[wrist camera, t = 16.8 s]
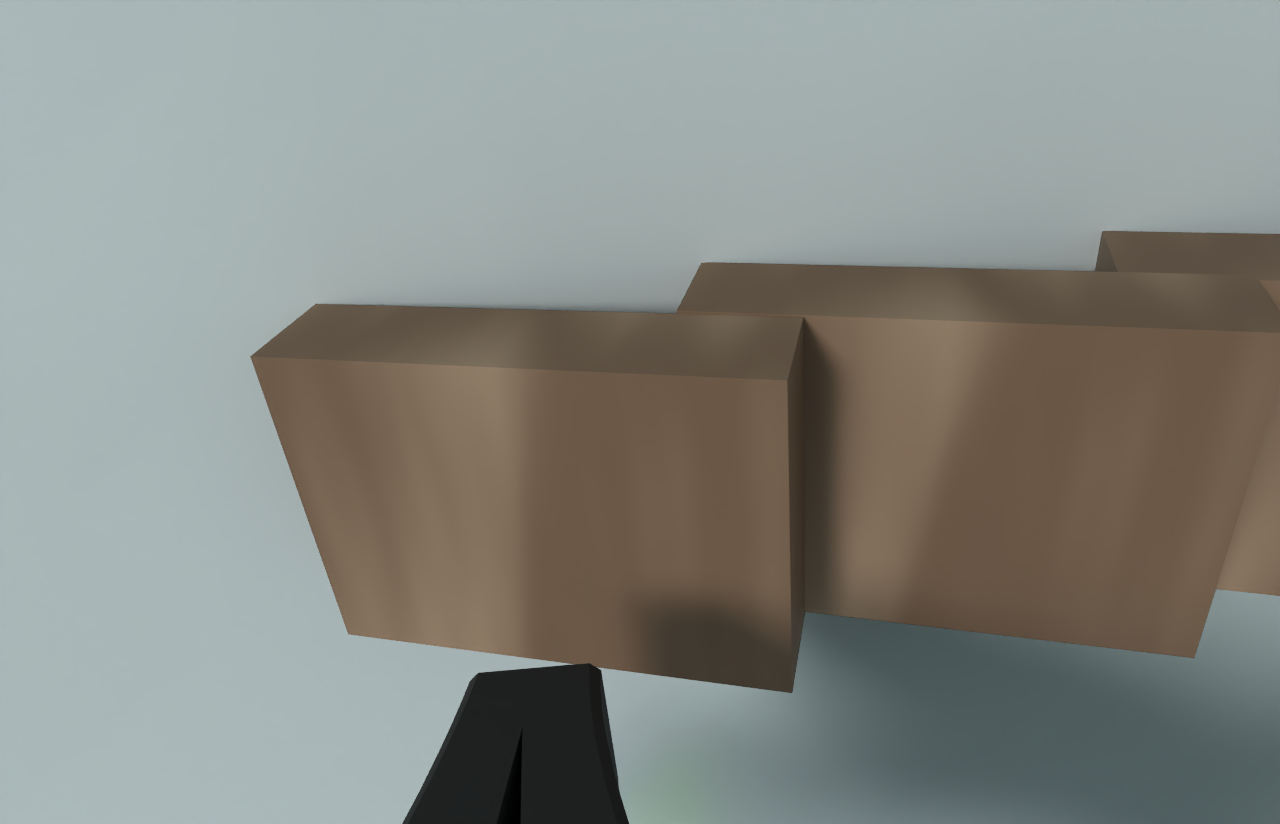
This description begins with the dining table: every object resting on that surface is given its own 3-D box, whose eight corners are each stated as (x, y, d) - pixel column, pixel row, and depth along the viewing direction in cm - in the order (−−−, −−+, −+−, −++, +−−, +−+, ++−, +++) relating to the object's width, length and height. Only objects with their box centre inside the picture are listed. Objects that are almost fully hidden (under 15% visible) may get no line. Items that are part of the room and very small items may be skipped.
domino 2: (702, 262, 13) (1255, 274, 12) (715, 534, 16) (1169, 580, 14) (677, 310, 12) (1296, 333, 10) (696, 598, 15) (1194, 658, 13)
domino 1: (315, 304, 14) (803, 316, 12) (395, 567, 16) (805, 613, 14) (249, 356, 12) (787, 379, 10) (348, 634, 15) (792, 692, 13)
